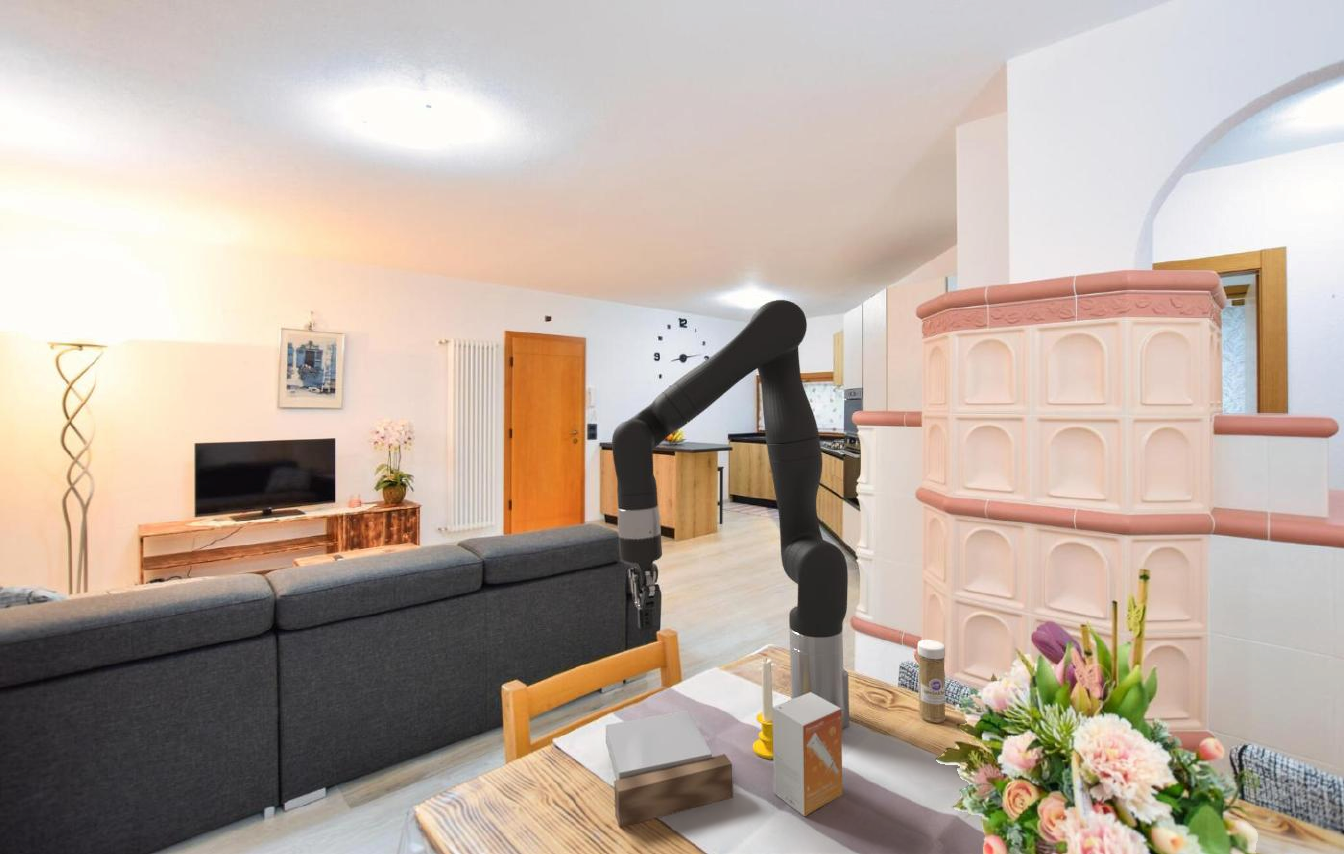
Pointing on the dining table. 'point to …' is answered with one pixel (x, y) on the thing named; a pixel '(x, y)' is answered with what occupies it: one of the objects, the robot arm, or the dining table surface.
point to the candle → (765, 714)
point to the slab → (654, 744)
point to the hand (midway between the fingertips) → (645, 628)
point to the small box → (807, 752)
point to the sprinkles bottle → (931, 681)
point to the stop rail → (672, 789)
